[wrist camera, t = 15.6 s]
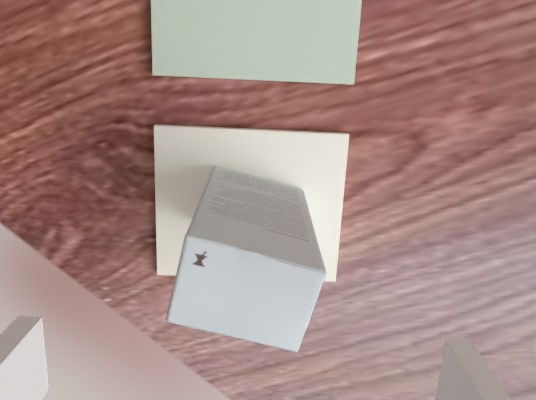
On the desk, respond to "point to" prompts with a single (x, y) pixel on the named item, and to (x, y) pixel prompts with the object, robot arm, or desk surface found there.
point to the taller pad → (252, 163)
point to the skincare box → (249, 262)
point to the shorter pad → (256, 39)
